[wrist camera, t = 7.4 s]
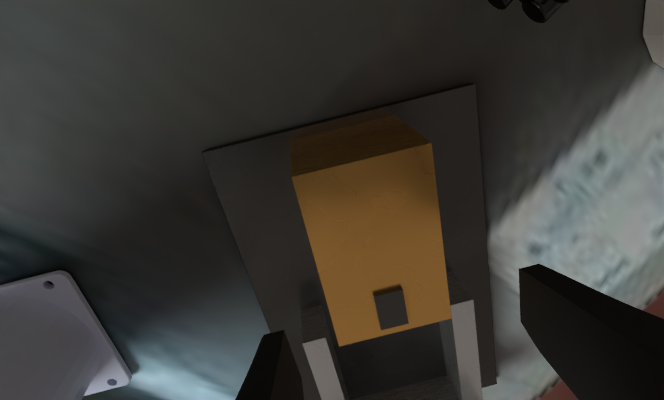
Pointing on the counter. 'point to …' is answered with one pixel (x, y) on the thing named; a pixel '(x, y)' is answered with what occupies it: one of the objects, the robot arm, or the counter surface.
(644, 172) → the counter surface
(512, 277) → the counter surface
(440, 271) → the wooden drawer block
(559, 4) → the valve
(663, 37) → the white cup
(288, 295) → the grey piece
